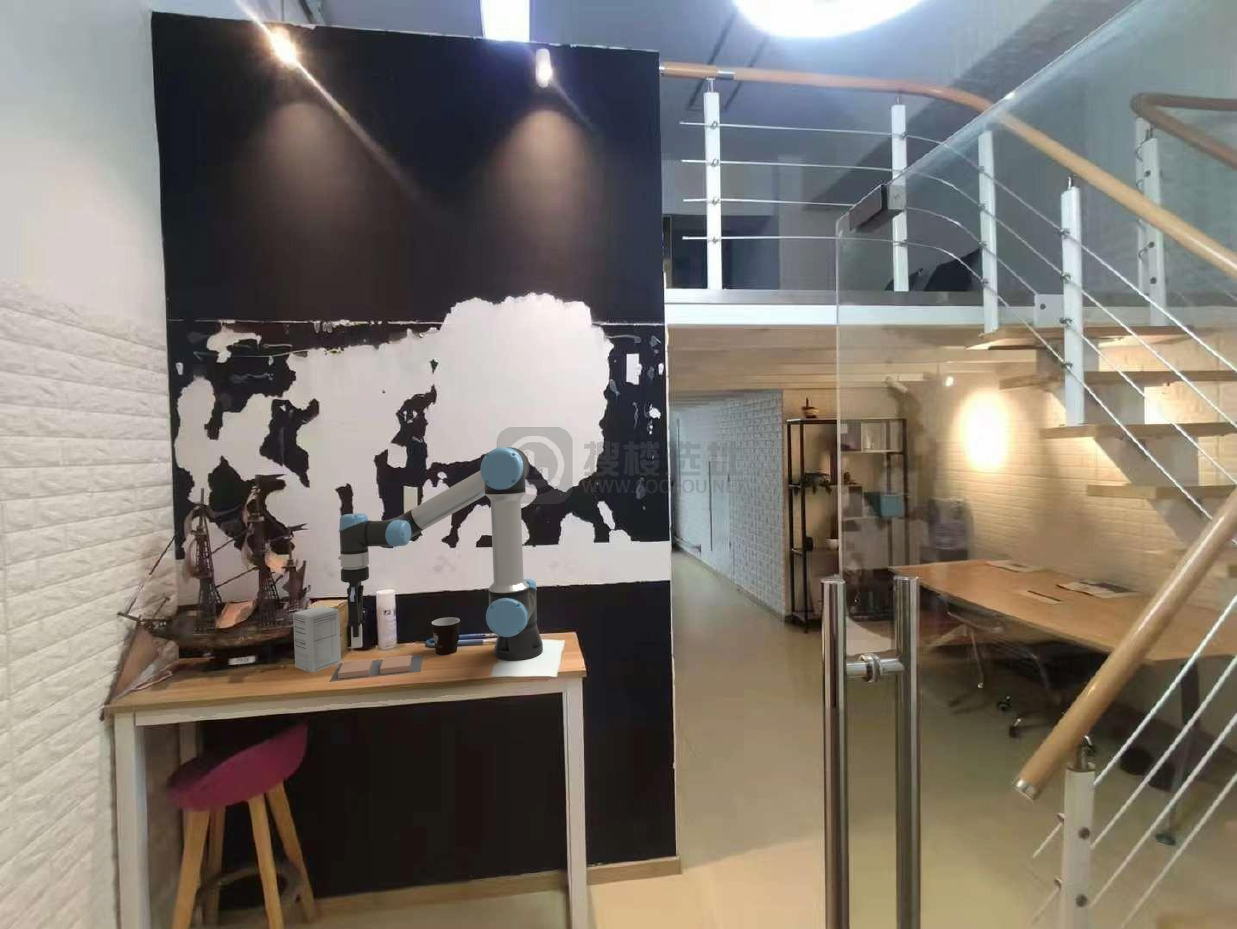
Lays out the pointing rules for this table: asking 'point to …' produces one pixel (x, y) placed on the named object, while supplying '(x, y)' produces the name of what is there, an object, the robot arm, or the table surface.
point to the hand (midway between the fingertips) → (356, 646)
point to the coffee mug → (446, 635)
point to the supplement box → (316, 638)
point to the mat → (375, 669)
